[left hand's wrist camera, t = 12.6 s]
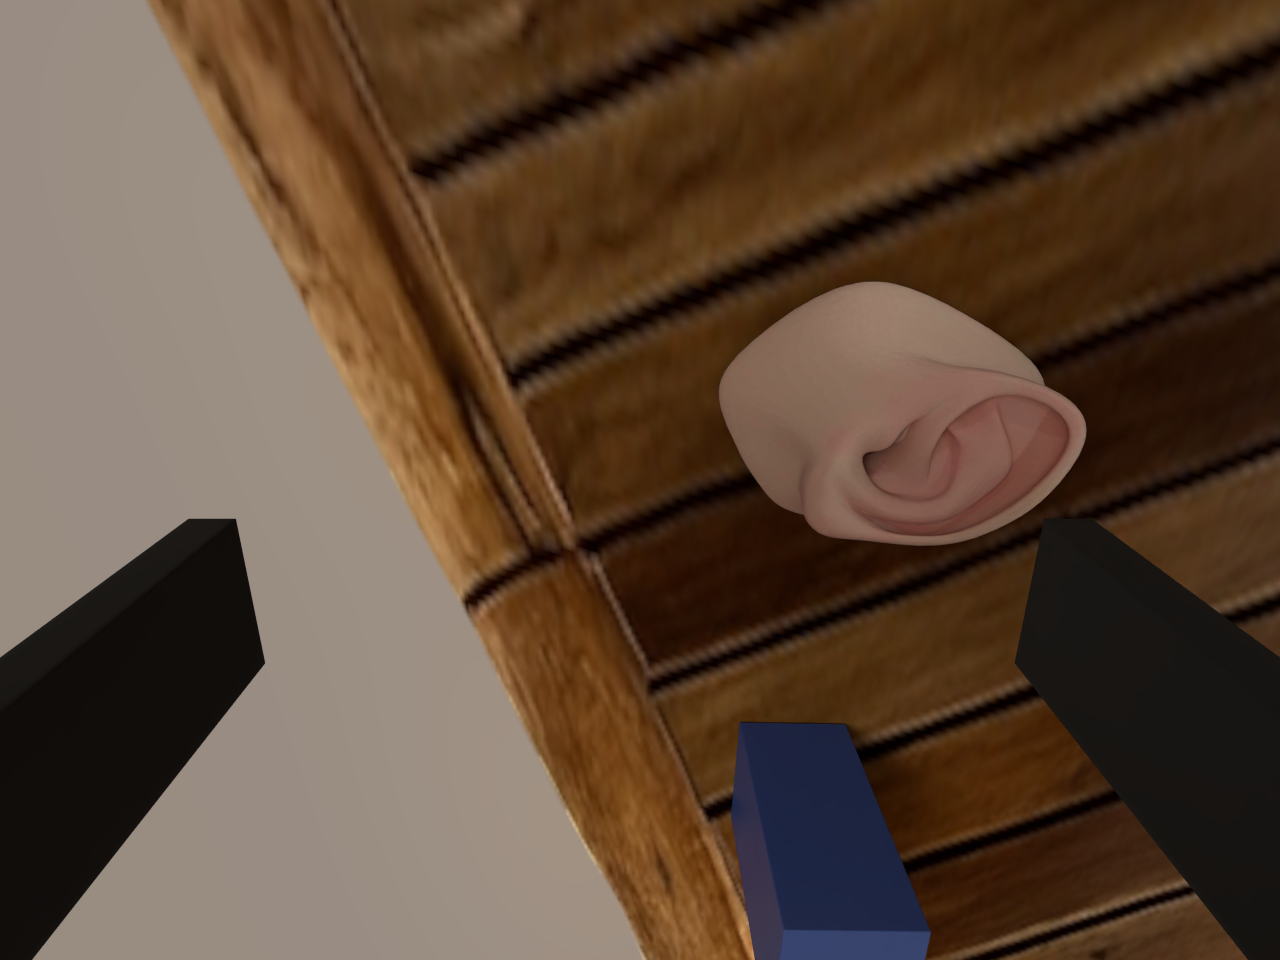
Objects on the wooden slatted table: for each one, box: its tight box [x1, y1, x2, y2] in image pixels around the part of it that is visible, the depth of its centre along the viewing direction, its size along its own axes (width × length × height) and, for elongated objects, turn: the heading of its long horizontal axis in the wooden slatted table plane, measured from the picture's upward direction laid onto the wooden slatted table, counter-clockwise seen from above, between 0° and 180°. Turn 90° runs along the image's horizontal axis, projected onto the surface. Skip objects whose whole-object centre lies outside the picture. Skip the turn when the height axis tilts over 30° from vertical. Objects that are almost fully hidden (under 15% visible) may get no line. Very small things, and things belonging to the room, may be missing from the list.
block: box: [731, 722, 931, 960], centre depth 35 cm, size 6×6×12 cm
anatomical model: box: [719, 282, 1086, 546], centre depth 32 cm, size 13×4×12 cm
